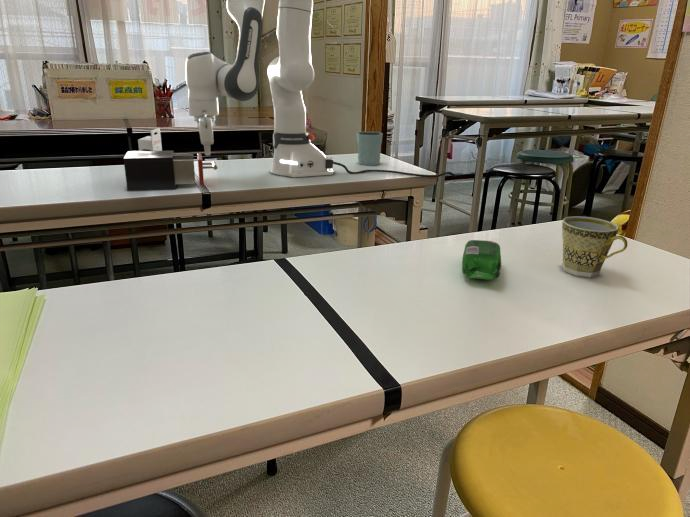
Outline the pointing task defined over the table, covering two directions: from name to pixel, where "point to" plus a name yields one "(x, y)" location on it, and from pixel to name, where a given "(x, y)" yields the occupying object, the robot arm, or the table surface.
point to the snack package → (481, 260)
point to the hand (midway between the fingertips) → (207, 154)
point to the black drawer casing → (149, 170)
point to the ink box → (151, 142)
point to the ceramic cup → (587, 244)
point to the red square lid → (189, 168)
